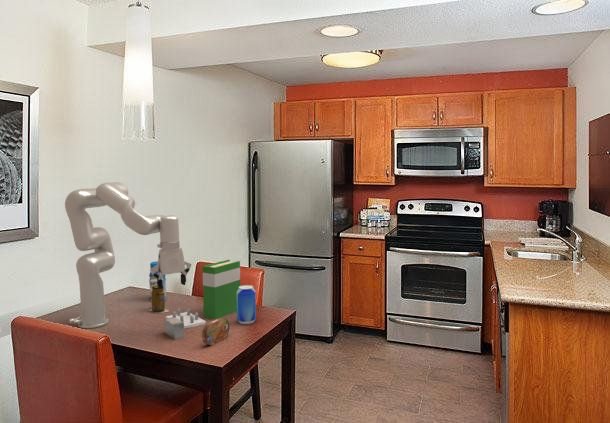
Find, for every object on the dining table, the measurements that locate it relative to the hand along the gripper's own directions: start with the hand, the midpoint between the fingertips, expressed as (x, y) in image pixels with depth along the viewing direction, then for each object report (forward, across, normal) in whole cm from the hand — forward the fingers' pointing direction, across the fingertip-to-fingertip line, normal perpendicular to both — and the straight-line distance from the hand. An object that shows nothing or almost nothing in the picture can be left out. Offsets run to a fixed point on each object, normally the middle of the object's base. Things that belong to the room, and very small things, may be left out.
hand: (172, 286), depth 194 cm
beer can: (+21, +32, -6) cm, 38 cm away
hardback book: (+20, +29, +12) cm, 38 cm away
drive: (+20, -1, -2) cm, 20 cm away
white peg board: (+20, +10, +12) cm, 25 cm away
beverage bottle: (+20, +13, +53) cm, 58 cm away
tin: (+21, +10, -18) cm, 29 cm away
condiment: (+20, +6, +35) cm, 40 cm away
